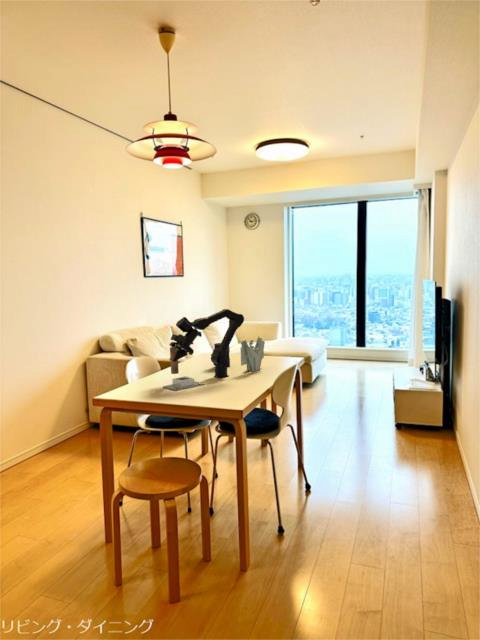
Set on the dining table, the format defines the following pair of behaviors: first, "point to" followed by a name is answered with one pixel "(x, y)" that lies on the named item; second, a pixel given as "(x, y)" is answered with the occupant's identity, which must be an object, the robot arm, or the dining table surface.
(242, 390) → the dining table surface
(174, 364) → the rail post
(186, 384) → the grey stand base
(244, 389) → the dining table surface
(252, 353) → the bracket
